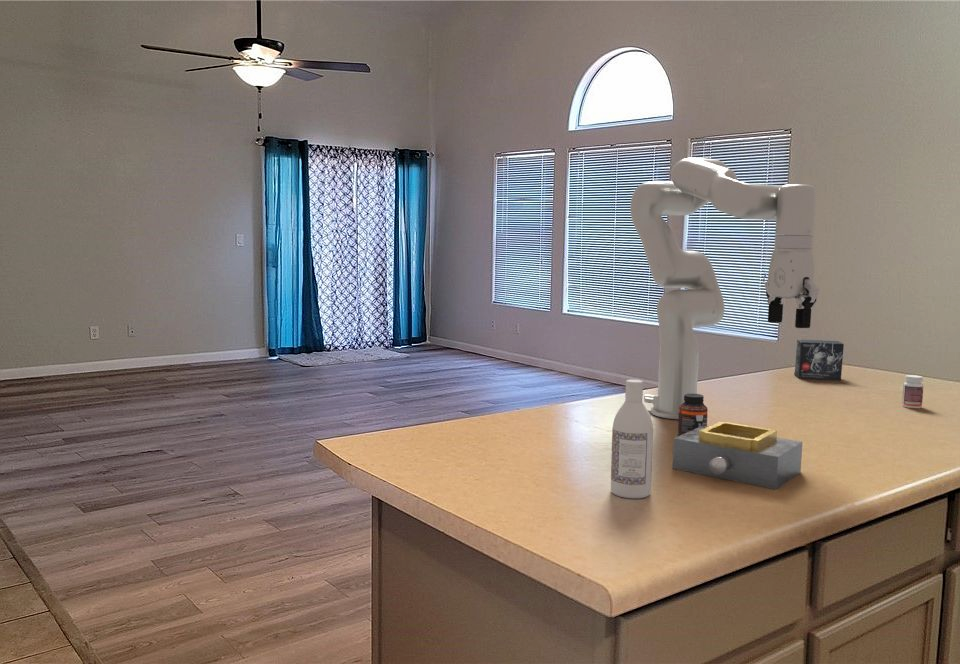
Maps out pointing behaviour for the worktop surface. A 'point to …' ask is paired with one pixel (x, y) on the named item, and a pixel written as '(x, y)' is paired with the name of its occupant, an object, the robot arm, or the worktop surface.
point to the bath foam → (632, 446)
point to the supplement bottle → (692, 413)
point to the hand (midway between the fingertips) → (788, 325)
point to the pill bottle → (912, 392)
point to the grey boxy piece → (738, 454)
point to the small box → (819, 359)
